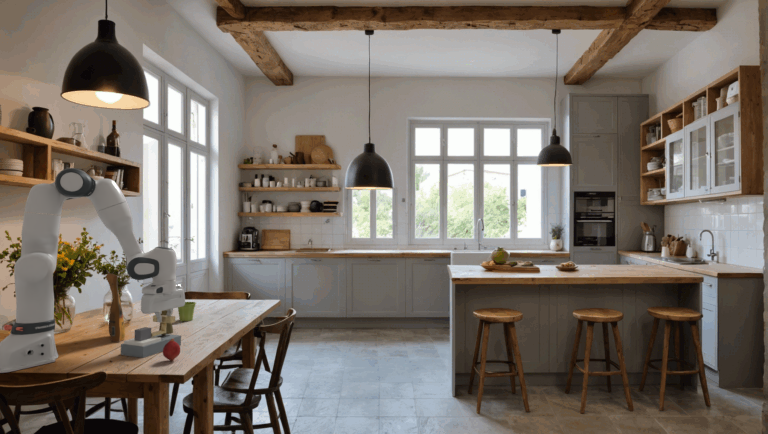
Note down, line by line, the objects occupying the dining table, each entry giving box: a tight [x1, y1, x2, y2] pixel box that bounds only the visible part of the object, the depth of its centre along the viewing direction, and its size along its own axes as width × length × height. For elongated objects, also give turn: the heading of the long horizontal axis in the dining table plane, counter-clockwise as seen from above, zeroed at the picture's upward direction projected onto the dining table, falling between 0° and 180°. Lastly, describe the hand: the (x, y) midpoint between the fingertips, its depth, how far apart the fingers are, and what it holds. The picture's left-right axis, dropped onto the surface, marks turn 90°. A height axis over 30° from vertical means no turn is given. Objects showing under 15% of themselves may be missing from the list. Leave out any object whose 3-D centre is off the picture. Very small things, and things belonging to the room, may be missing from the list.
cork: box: [158, 310, 174, 335], centre depth 216 cm, size 6×6×11 cm
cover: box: [123, 326, 161, 346], centre depth 183 cm, size 9×9×5 cm
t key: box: [151, 314, 176, 337], centre depth 190 cm, size 8×9×8 cm
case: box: [120, 333, 182, 359], centre depth 187 cm, size 19×11×4 cm, turn 161°
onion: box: [162, 339, 181, 362], centre depth 173 cm, size 6×6×8 cm
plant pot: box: [177, 301, 197, 322], centre depth 243 cm, size 9×9×9 cm
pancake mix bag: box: [105, 272, 126, 343], centre depth 205 cm, size 7×19×28 cm, turn 33°
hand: (163, 321), depth 193 cm, fingers closed on t key, 2 cm apart
